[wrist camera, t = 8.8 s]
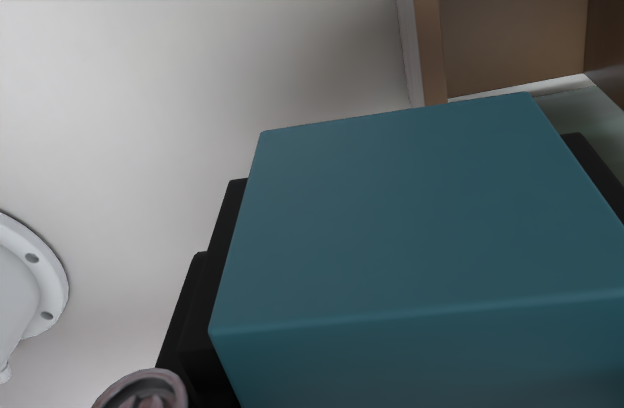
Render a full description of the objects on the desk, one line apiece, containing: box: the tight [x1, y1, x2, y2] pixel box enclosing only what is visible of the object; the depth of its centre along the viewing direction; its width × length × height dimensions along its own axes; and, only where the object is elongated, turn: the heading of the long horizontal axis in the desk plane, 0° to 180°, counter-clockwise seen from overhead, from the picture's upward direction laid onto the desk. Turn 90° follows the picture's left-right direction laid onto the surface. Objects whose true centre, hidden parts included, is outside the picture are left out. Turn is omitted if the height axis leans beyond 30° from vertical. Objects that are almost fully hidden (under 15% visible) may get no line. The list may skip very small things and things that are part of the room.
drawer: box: [396, 0, 624, 187], centre depth 22 cm, size 18×10×9 cm, turn 13°
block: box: [208, 92, 624, 408], centre depth 8 cm, size 4×4×4 cm
